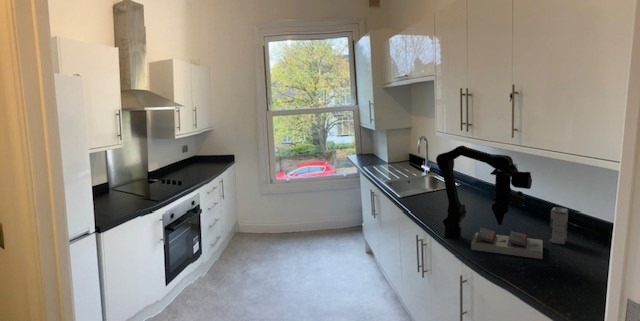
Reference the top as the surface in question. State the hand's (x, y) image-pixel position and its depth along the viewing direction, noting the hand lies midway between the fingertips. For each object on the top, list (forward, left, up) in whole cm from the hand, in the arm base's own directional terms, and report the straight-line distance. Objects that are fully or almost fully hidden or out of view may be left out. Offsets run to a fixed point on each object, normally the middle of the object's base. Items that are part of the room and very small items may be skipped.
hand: (501, 221), depth 159 cm
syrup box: (+21, +14, -11) cm, 28 cm away
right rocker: (+6, -2, -7) cm, 9 cm away
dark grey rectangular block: (-6, -2, -7) cm, 9 cm away
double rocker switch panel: (0, -2, -11) cm, 11 cm away
